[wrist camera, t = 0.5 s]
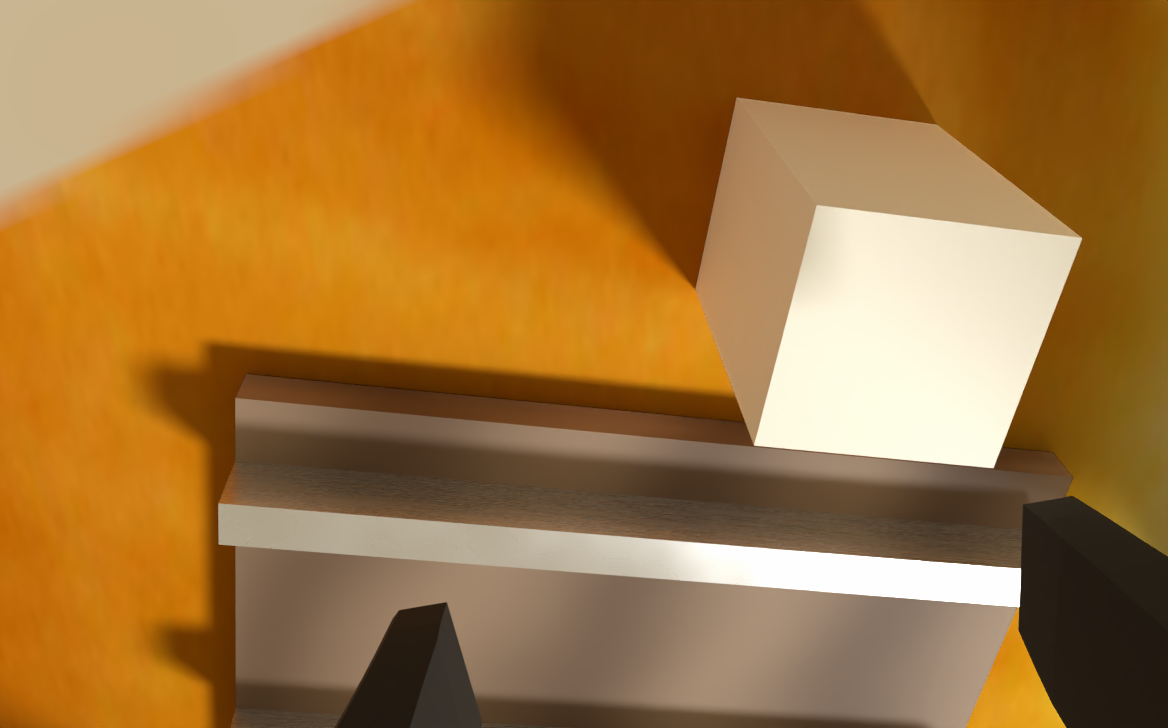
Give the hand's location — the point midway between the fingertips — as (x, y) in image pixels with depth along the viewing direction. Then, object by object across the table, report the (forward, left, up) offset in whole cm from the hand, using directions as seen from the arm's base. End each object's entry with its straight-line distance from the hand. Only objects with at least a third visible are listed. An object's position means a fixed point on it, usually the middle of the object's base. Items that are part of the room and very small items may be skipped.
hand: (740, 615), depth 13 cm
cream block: (-3, -2, -10) cm, 11 cm away
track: (-1, +8, -10) cm, 13 cm away
